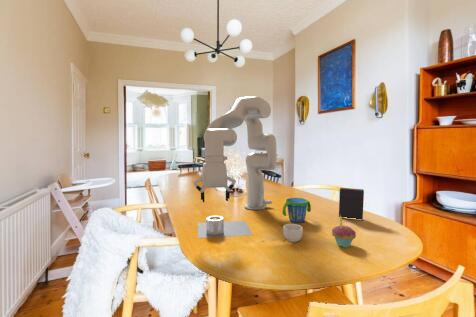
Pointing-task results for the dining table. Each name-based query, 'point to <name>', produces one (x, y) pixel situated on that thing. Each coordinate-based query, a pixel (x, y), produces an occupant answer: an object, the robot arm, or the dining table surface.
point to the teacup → (292, 232)
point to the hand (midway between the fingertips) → (215, 200)
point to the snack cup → (296, 209)
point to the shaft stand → (226, 229)
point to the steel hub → (215, 225)
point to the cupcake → (343, 234)
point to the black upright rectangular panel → (351, 203)
